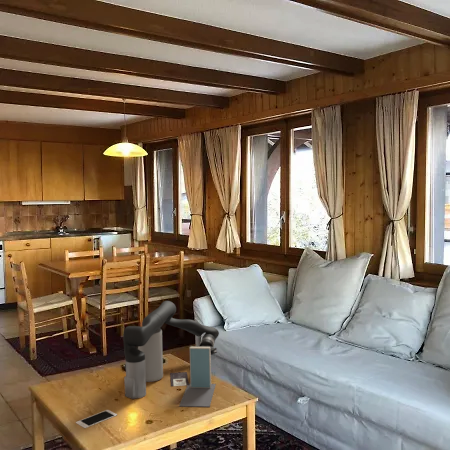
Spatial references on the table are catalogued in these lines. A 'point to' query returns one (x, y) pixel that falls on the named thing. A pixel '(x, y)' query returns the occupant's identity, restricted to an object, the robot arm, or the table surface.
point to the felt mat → (197, 396)
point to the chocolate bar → (179, 379)
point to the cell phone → (96, 418)
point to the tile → (200, 367)
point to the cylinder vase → (153, 357)
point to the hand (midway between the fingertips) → (202, 356)
